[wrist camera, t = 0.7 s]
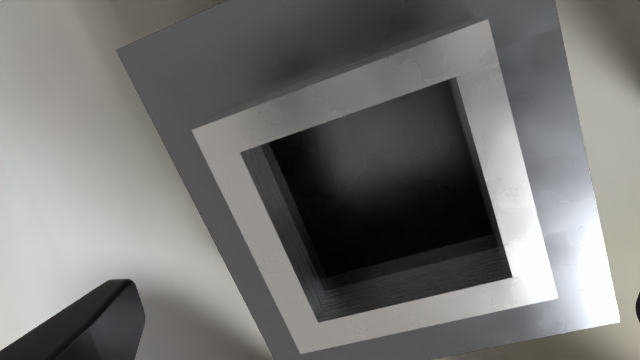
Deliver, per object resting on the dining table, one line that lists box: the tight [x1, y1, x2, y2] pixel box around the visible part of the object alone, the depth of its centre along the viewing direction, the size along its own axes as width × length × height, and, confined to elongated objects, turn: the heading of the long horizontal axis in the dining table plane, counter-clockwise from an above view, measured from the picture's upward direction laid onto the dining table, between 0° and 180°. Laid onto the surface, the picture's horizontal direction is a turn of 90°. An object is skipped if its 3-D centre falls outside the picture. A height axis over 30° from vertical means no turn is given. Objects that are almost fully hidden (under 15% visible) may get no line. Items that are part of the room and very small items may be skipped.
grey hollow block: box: [116, 0, 620, 360], centre depth 18 cm, size 18×14×7 cm
